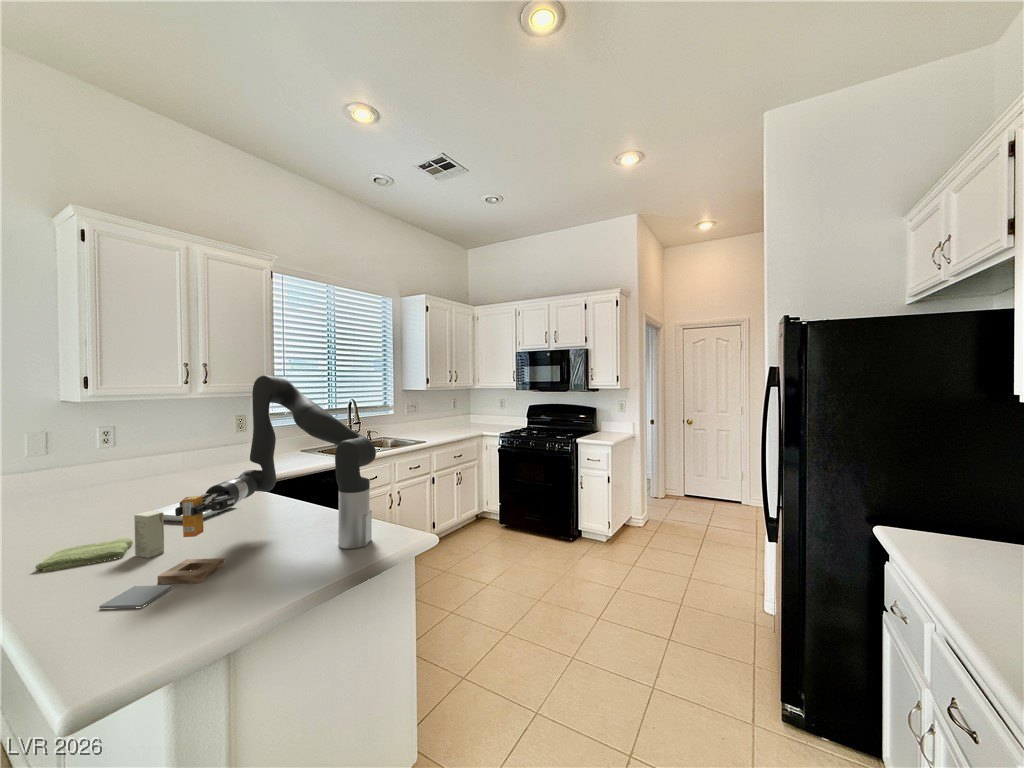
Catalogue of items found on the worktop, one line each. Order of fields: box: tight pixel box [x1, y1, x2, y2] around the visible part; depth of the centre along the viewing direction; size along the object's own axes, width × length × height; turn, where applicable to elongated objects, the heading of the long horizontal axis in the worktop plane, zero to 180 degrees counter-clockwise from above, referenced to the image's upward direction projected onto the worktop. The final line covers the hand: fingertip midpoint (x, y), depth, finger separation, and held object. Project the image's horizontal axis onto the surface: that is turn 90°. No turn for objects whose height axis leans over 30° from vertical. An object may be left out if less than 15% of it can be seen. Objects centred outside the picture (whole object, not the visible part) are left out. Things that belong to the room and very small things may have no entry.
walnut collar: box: [157, 557, 225, 585], centre depth 108 cm, size 10×10×2 cm
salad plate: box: [153, 502, 238, 522], centre depth 158 cm, size 21×21×3 cm
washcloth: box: [35, 537, 134, 573], centre depth 118 cm, size 13×18×3 cm
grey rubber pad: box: [98, 584, 174, 609], centre depth 96 cm, size 9×9×1 cm
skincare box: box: [134, 510, 165, 559], centre depth 121 cm, size 6×4×12 cm
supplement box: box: [181, 495, 204, 538], centre depth 108 cm, size 3×3×10 cm
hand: (184, 512), depth 105 cm, fingers closed on supplement box, 3 cm apart
